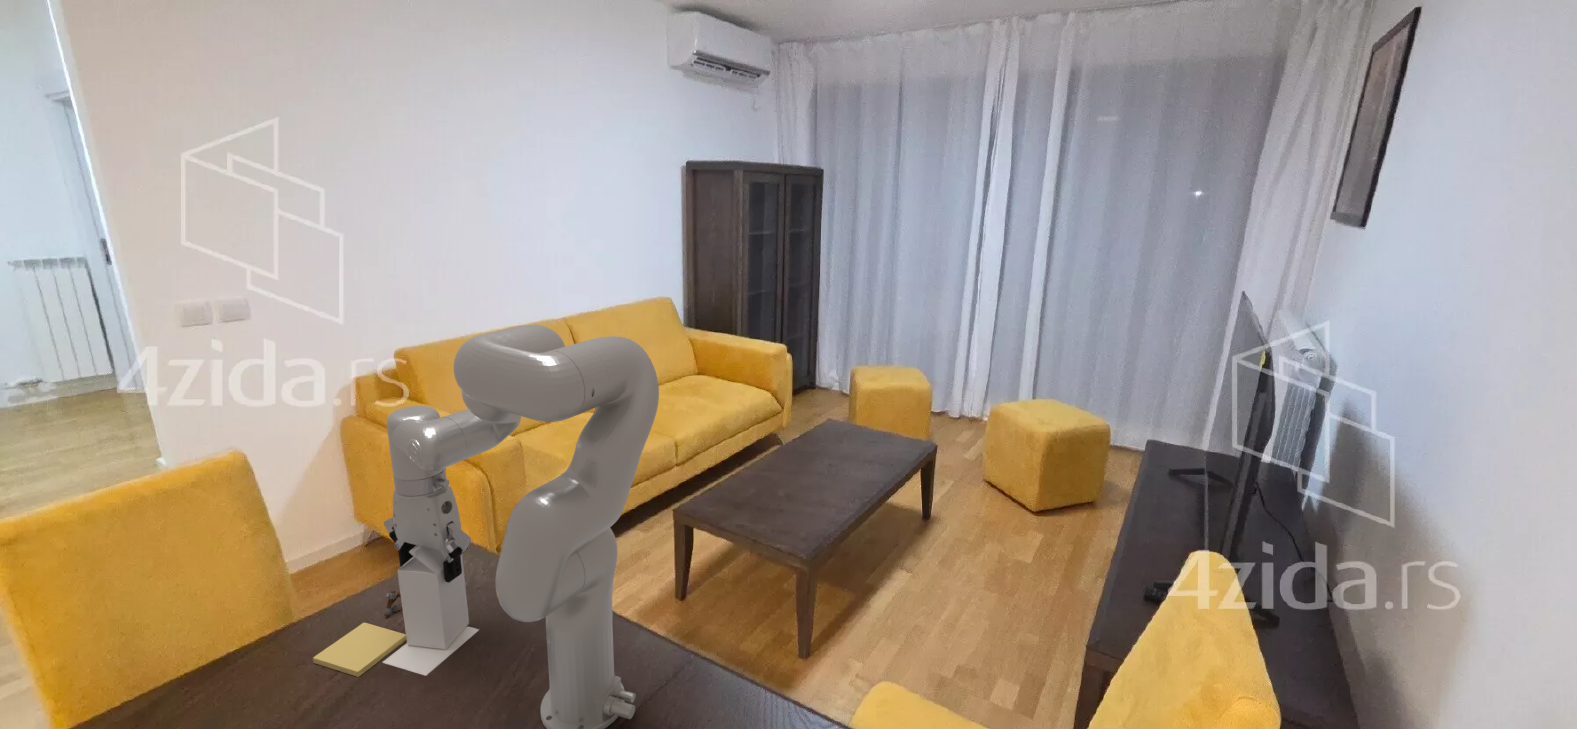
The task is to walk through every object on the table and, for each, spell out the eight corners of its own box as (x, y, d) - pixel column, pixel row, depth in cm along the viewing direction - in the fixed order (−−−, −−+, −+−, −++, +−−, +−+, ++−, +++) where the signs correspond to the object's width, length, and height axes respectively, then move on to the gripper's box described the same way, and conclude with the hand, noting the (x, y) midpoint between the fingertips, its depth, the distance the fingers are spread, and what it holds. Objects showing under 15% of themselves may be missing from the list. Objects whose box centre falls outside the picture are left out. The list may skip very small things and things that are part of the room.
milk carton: (469, 623, 119) (460, 530, 113) (446, 650, 112) (434, 553, 107) (432, 619, 119) (421, 527, 114) (406, 646, 112) (393, 548, 107)
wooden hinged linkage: (377, 615, 119) (383, 590, 119) (413, 607, 126) (419, 584, 127) (384, 618, 118) (390, 592, 119) (420, 610, 126) (426, 586, 126)
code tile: (479, 630, 117) (479, 629, 117) (426, 677, 106) (425, 675, 106) (438, 619, 120) (438, 618, 120) (382, 663, 109) (382, 662, 109)
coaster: (407, 639, 114) (406, 634, 114) (358, 676, 105) (357, 671, 105) (364, 627, 117) (363, 622, 116) (313, 662, 108) (312, 657, 108)
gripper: (481, 480, 109) (489, 570, 113) (398, 463, 113) (409, 551, 118) (446, 500, 102) (456, 595, 106) (359, 481, 106) (372, 573, 111)
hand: (431, 572), depth 112 cm, fingers open, 8 cm apart
